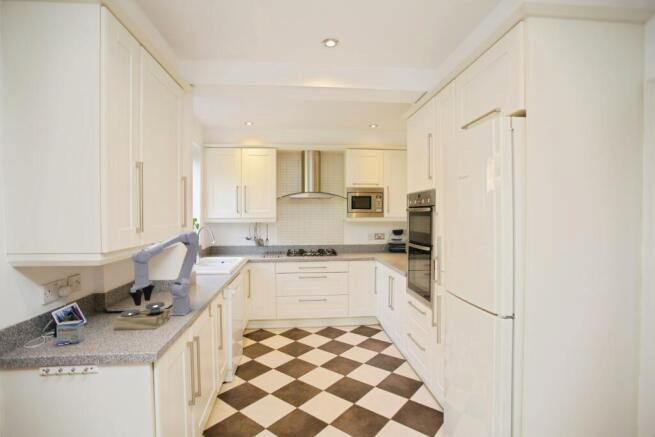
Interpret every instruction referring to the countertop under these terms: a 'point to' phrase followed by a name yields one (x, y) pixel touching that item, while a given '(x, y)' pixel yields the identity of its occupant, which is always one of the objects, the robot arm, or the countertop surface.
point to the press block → (142, 320)
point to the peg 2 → (155, 307)
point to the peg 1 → (130, 313)
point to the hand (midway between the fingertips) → (142, 303)
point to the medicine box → (70, 332)
